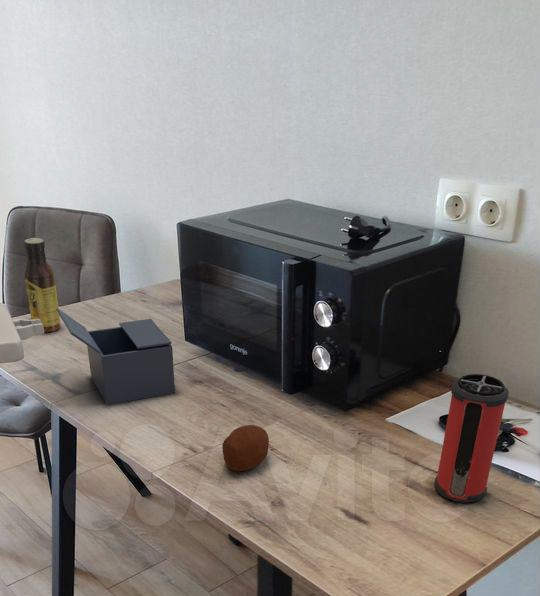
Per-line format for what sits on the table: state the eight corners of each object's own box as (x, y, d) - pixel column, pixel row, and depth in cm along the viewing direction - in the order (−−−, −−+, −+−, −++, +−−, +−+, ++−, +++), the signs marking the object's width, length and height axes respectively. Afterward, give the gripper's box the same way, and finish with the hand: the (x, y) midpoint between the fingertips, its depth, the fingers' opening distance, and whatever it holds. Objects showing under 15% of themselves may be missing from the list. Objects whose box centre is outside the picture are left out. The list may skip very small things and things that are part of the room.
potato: (209, 465, 112) (208, 429, 109) (252, 445, 118) (252, 410, 114) (239, 482, 108) (239, 446, 104) (281, 461, 114) (283, 425, 110)
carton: (107, 405, 129) (101, 352, 123) (91, 377, 139) (84, 327, 133) (175, 393, 133) (172, 342, 128) (154, 367, 143) (151, 318, 138)
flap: (101, 352, 123) (100, 354, 123) (85, 327, 133) (84, 329, 133) (71, 332, 119) (70, 333, 119) (57, 307, 129) (56, 309, 129)
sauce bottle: (31, 325, 161) (15, 237, 150) (58, 322, 163) (45, 234, 152) (35, 335, 156) (20, 244, 145) (64, 332, 158) (51, 241, 147)
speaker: (428, 496, 106) (448, 388, 96) (440, 472, 112) (459, 367, 102) (480, 509, 103) (505, 399, 93) (489, 483, 109) (513, 377, 99)
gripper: (-42, 341, 108) (50, 329, 113) (-51, 300, 124) (30, 291, 129) (-33, 378, 112) (56, 365, 117) (-43, 334, 127) (36, 324, 132)
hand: (42, 326), depth 123 cm, fingers closed
